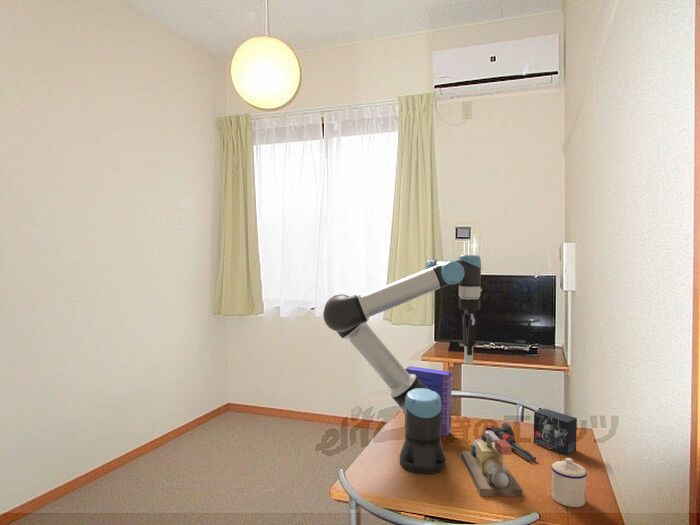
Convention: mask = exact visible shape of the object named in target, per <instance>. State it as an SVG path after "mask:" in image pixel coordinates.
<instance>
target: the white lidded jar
mask: <svg viewBox="0 0 700 525" xmlns="http://www.w3.org/2000/svg"><path fill="white" fill-rule="evenodd" d="M551 475H552V476H551V497H552V499H553V500H554V501H555V502H557V503H558V504H560V505H563V506H565V507H570V508H580V507H583V506H585V504H586V483H587V482H586V479H587V478H586V476H587V475H588V474H587V470H586V469H585V468H584V467H583V466H582V465H580V464H578V463H576V462H574V460H573V458H571V457H566V458H565V459H564V460H559V461H555V462H553V463H552V465H551Z"/></svg>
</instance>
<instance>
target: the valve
mask: <svg viewBox="0 0 700 525" xmlns="http://www.w3.org/2000/svg"><path fill="white" fill-rule="evenodd" d="M487 430H489V431H493V432H494V434H495V435H496V436H497V437H498V438H499V439H500V440H504V439H505V440H506V441H507V442H508V443H509V444H510V445H511V446H512V450H513V451H515V452H516V453H518V454H519V455H521V456H522V457H523V458H525V459H526V460H528V461H529V462H532V461H537V457H536V456H535V455H533V454H532V453H530V452H529V451H528V450H526V449H524V448H523V447H522V446H520V445H518V444H517V443H516V439H515V433H514V430H513V428H512V426H511V425H510V424H509V423H507V422H505V423H502V424H501V427H498V426H494V425H492V424H488V425H486V426H485V427H484V432H483V434H482V435H481V438H480V439H481V440H483V441H484V442H487V437H485V431H487ZM492 442H493V441H492Z"/></svg>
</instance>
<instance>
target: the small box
mask: <svg viewBox="0 0 700 525" xmlns="http://www.w3.org/2000/svg"><path fill="white" fill-rule="evenodd" d="M533 415H534V416H533V444H535V443H537V444H536V445H538V444H540V445H539V446H541V445H542V446H541V447H543V446H546V447H548V448H547V449H549V448H551V449H553V450H552V451H554V450H555V451H554V452H557V451H558V452H557V453H559V452H560V454H562V455H565V456H568V455H570V454H572V453H574V452H576V451H577V430H578V429H577V426H578V425H577V422H578V418H577V417H575V416H572V415H568V414H565V413H561V412H558V411H555V410H551V409H548V408H545V407H544V408H541V409H538V410H536V411H534V412H533ZM546 447H545V448H546ZM551 449H550V450H551Z"/></svg>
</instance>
